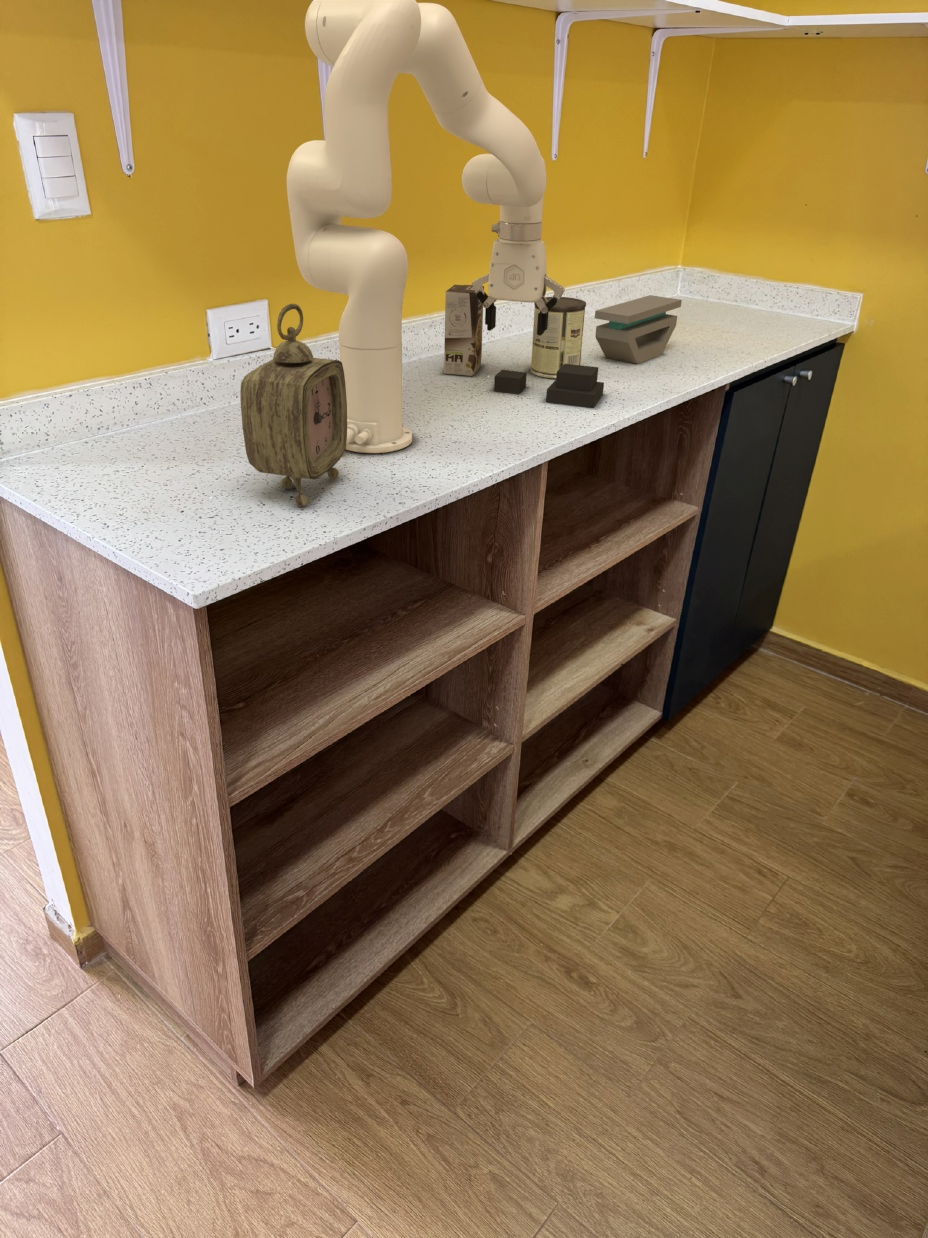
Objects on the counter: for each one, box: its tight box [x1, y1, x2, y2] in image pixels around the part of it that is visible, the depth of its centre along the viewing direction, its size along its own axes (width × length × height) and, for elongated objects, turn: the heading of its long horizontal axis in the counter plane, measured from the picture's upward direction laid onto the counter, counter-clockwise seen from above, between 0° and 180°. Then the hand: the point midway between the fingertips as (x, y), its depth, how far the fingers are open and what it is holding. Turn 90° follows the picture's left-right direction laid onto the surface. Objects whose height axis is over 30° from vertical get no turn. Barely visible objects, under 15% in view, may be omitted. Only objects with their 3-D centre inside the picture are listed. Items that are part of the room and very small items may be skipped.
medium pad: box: [555, 364, 599, 392], centre depth 164 cm, size 6×6×3 cm
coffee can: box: [530, 296, 587, 379], centre depth 179 cm, size 10×10×14 cm
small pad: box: [493, 369, 528, 395], centre depth 170 cm, size 5×5×3 cm
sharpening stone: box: [594, 294, 683, 365], centre depth 193 cm, size 25×8×11 cm, turn 143°
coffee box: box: [443, 284, 485, 377], centre depth 178 cm, size 9×6×16 cm
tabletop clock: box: [239, 303, 347, 507], centre depth 117 cm, size 14×9×25 cm, turn 164°
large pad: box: [545, 379, 605, 409], centre depth 165 cm, size 9×9×2 cm
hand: (515, 331), depth 165 cm, fingers open, 9 cm apart
